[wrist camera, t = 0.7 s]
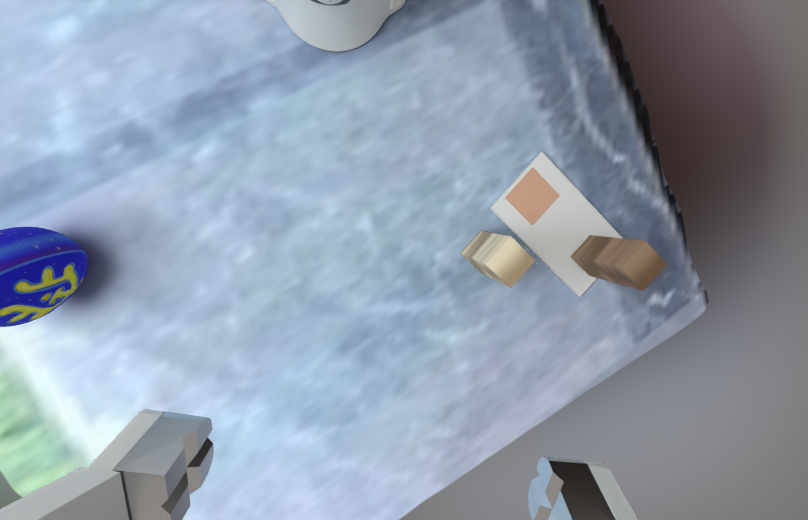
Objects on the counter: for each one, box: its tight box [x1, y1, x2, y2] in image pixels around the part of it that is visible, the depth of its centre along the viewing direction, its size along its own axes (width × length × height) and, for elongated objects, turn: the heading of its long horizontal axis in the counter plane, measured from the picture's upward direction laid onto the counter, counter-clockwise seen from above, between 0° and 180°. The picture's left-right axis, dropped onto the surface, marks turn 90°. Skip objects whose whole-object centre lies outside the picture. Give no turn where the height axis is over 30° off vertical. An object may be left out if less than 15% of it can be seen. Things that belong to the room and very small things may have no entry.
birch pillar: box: [460, 231, 535, 288], centre depth 50 cm, size 4×4×11 cm
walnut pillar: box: [571, 235, 667, 291], centre depth 51 cm, size 4×4×11 cm
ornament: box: [0, 227, 88, 327], centre depth 41 cm, size 11×9×15 cm
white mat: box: [489, 152, 622, 297], centre depth 56 cm, size 20×11×1 cm, turn 47°
